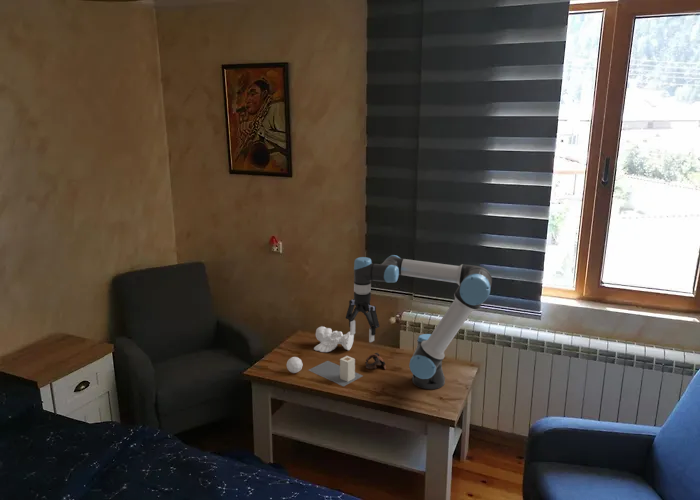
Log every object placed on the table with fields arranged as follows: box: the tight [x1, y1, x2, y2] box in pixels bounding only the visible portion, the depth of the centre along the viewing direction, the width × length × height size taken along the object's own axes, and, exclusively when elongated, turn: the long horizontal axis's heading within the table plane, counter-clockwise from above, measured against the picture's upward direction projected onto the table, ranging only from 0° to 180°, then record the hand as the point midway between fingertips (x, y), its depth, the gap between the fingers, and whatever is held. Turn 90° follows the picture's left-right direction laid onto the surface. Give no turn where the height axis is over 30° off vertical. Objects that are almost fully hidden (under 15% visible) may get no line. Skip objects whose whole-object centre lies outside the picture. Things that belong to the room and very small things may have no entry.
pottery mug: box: [365, 352, 387, 370], centre depth 270 cm, size 12×10×8 cm
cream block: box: [339, 355, 356, 382], centre depth 257 cm, size 5×5×10 cm
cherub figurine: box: [313, 325, 355, 353], centre depth 290 cm, size 13×12×20 cm
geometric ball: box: [286, 356, 303, 374], centre depth 265 cm, size 8×8×8 cm
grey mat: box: [308, 360, 364, 387], centre depth 264 cm, size 24×14×1 cm, turn 48°
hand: (362, 337), depth 247 cm, fingers open, 11 cm apart
